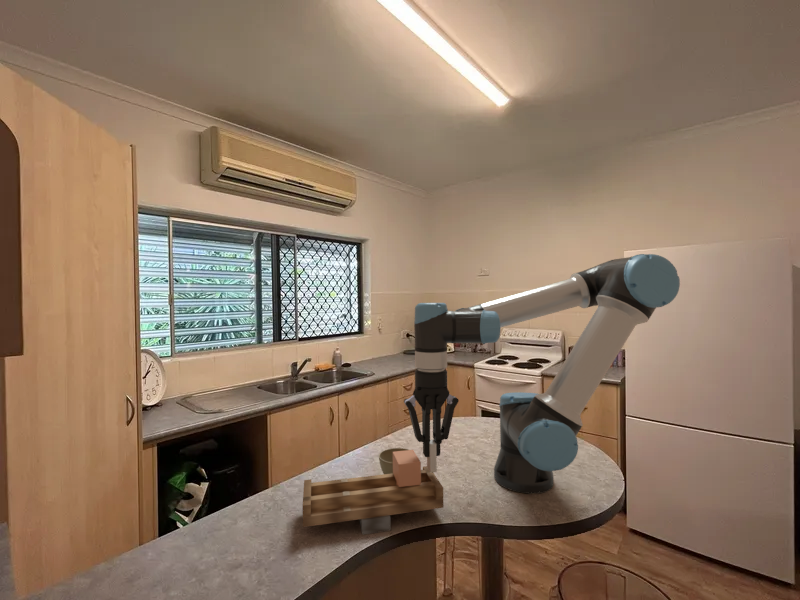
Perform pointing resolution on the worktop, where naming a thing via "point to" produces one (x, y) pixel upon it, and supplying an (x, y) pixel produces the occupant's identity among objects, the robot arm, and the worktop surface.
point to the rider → (406, 468)
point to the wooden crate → (368, 500)
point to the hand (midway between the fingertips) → (431, 469)
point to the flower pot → (388, 459)
